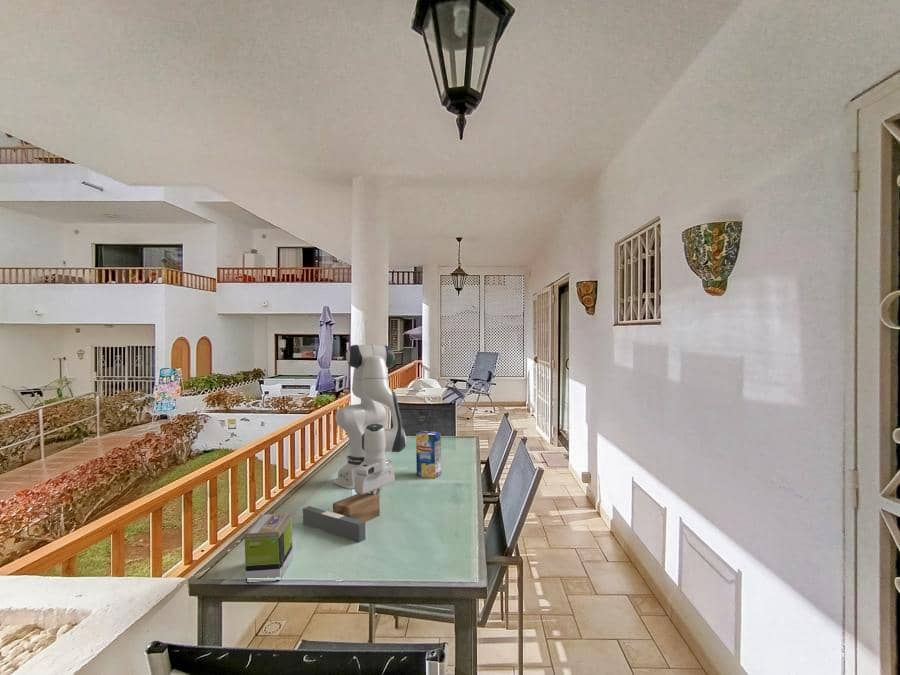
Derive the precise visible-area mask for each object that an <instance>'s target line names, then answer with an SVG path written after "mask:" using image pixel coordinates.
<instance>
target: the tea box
mask: <svg viewBox="0 0 900 675" xmlns="http://www.w3.org/2000/svg"><path fill="white" fill-rule="evenodd" d="M292 521H293V520H292V512H283V513H272V514H271V513H270V514H260V515H259V517H257V519H256V520H255V521H254V523H252V525H251V526H250V527H249V529H248V530H247V531H246V532H245V533H244V559H245V560H244V562H245V564H244V566H245V579H246V578H268V577H269V578H276V577H281V576H282V574H283V573H284V574H285V572H286V571H285V569H286V568H287V569H288V567H287V566H289V565H290V563H291V562H290V561H292V559H293V558H294V550H293V546H294V545H293V529H292V528H293V524H292ZM288 564H289V565H288ZM287 569H286V570H287ZM284 571H285V572H284ZM284 574H283V575H284ZM282 577H283V576H282Z"/></svg>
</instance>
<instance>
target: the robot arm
mask: <svg viewBox="0 0 900 675" xmlns="http://www.w3.org/2000/svg"><path fill="white" fill-rule="evenodd" d="M345 357H346V361H347V364H348V366H350V367H351V368H353V376H352V385H351V386H352V387H351V392H352V394H353V395H354V396H355V397H357V398H359V399H360V403H357V404H347V405H344V406H342V407H339V408H338V409H337V410H336V412H335V415H334V416H335V417H334V420H335V423H336V424H337V426H338V427H339V428H341V429H342V430H343V431H344V432H345V433H346V435H347V437H348V442H349V453H350V455H346V460H347V462H346V463H345V464H344V465H343V466H342V467H340V468H339V469H338V471H337V478H335V479H333V480H332V484H334V483H335V485H337V486H340V487H343V488H345V489H348V490H349V489H354V492H355V493H356V494H361V495H363V494H365V493H371V494H375V495H379V499H381V498H380V497H381V493H382V490H383V487H385V486H387V485H389V484H392V483H394V482H395V479H396V478H395V470H394V467H393V466H394V464H393V462H392V461H391V460H387V455H386V453H400V452H402V451H403V450H404V449H405V448H406V445H407V436H406V432H405V429H404V427H403V421H402V416H401V412H400V407H399V402H398V398H397V395H396V392H395V391H394V390H391V387H390V385H389V382H388V380H389V378H388V369H387V368H390V367H392V365H393V364H394V361H395V352H394V349H393V347H391V346H389V345H379V344H353V345H350V346H349V347H348V348H347V351H346V356H345ZM384 405H385V406H384ZM385 407H387V408H388V409H389V410H390V416H391V422H392V428H385V427H384V425H383V424H381V423H382V422H384V420H385V418H386V414H387V413H386V408H385ZM363 427H365V429H364V430H363Z"/></svg>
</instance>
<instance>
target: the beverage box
mask: <svg viewBox="0 0 900 675" xmlns="http://www.w3.org/2000/svg"><path fill="white" fill-rule="evenodd" d="M441 436H442V434H441V432H440V431H429V430H428V431H427V430H421V431H419V432H416V433H415V448H416V449H415V450H416V451H415V452H416V453H415V454H416V455H415V457H416V458H415V460H416V476H417V477H422V478H428V479H436V478H439V477H440V476H442V437H441Z"/></svg>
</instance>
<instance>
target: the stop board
mask: <svg viewBox="0 0 900 675" xmlns="http://www.w3.org/2000/svg"><path fill="white" fill-rule="evenodd" d="M304 524H305V525H304ZM302 525H304V526H307V525H308V526H307V527H310V526H311V528H313V527H314V529H316V528H317V530H319V529H320V531H323V532H325V533H326V532H327V533H330V534H332V535H335V536H338V537H341V538H344V539H349V540H352V541H355V542H357V543H361V542H363V541H364V540H366V539H367V538H366V537H367V536H366V522H364V521H361V520H357V519H353V518H350V517H346V516H344V515H341V514H337V513H334V512H333V511H329V510H324V509H321V508H317V507H313V506H311V505H309V506H306V507H303V508H302Z"/></svg>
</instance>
